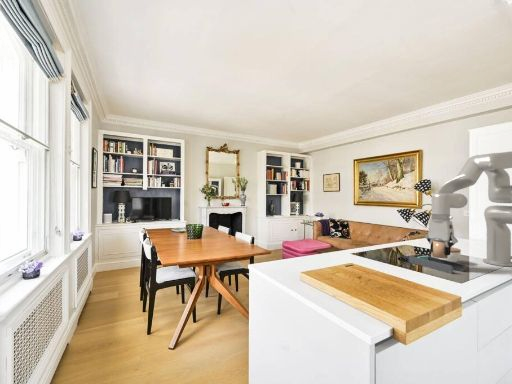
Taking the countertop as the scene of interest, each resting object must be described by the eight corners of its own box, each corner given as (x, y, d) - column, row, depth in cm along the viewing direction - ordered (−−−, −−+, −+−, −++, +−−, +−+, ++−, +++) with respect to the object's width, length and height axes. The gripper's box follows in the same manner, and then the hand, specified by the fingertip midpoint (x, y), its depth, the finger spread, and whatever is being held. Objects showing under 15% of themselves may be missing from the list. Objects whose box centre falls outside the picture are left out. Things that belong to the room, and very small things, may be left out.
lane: (420, 260, 142) (420, 254, 142) (464, 271, 121) (464, 264, 121) (408, 262, 138) (408, 255, 138) (451, 273, 118) (451, 266, 118)
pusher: (426, 262, 137) (426, 255, 137) (428, 262, 136) (428, 256, 136) (417, 263, 134) (417, 256, 134) (419, 263, 133) (419, 257, 133)
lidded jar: (461, 266, 131) (461, 248, 131) (435, 262, 137) (435, 245, 137) (460, 262, 139) (460, 245, 139) (436, 258, 146) (436, 242, 146)
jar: (437, 255, 131) (437, 237, 131) (450, 257, 125) (450, 239, 125) (429, 255, 129) (429, 237, 129) (442, 258, 123) (442, 239, 123)
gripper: (464, 219, 120) (464, 257, 120) (428, 216, 137) (428, 249, 136) (454, 219, 118) (454, 258, 117) (418, 216, 134) (418, 250, 133)
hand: (440, 253), depth 127 cm, fingers closed on jar, 6 cm apart
